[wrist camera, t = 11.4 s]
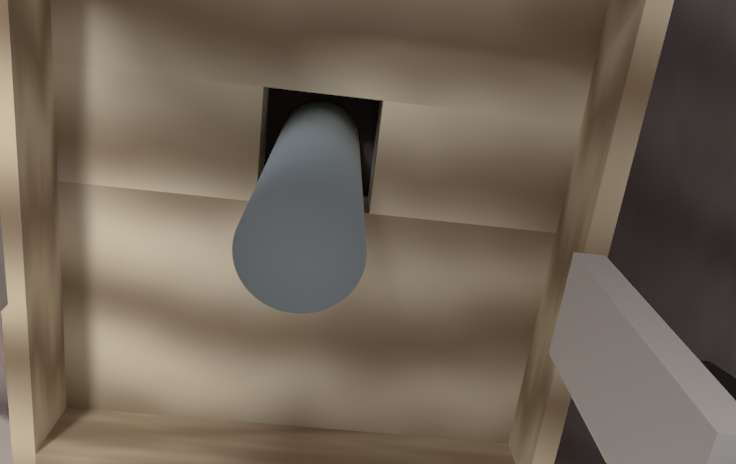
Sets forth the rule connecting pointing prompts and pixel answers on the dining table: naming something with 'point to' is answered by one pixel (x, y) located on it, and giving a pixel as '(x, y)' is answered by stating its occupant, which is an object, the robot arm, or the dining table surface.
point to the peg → (305, 215)
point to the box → (381, 213)
